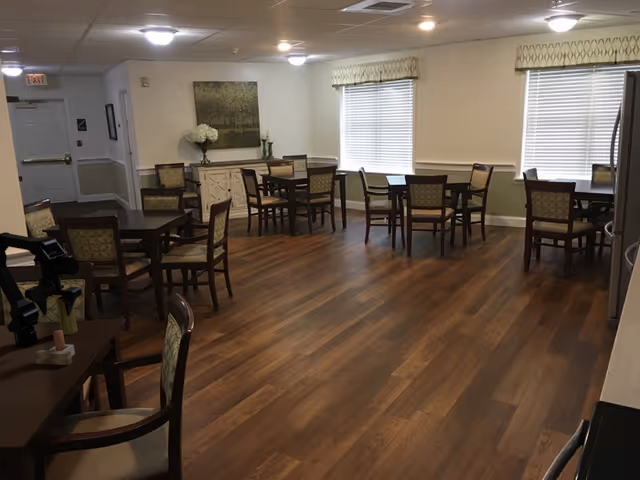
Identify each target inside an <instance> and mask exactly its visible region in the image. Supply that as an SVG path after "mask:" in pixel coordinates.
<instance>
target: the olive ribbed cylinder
mask: <svg viewBox="0 0 640 480" xmlns="http://www.w3.org/2000/svg"><path fill="white" fill-rule="evenodd" d="M55 300H56V304H57V311H58V312H57V313H58V318H59V328H60V329H59V330H63V335H64V336H69V335H74V334H77V332H78V331H79V330H78V325H77V321H76V315H75V310H74V309H75V308H74V307H73V308H72V311H71V314H70V316H67V313H66V308H65V303H64V302H63V301H62V300H63V298H62V295H59V296H58V297H56V299H55Z"/></svg>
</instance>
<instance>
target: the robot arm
mask: <svg viewBox="0 0 640 480" xmlns="http://www.w3.org/2000/svg"><path fill="white" fill-rule="evenodd" d="M9 248H14V249H20V250H26V251H28V252H30V254H31V255H34V256H35V257H34V259H33V260H32V261H33V262H36V263H38V264H39V265H38V267H39V271H40V278H38V284H37V285H33V286H32V287H30V288H27V289H25V290H24V293H22V291H21V289H20V288H19V286H18V283H17V282H16V280H15V278H14V276H13V275H12V273H11V271H10V269H9V267H8V265H7V258H8V257H7V253H6V251H7V250H8V249H9ZM79 269H80V264H79V262H78V260H76V259H75V258H74V256H73V255H72V254H71V255H67V252H66V251H65V249H64V248H63V246H61V245H60V243H59V242H58V241H57V240H56V238H55V237H53V236H41V237H32V236H31V237H30V236H25V235H20V234H14V233H10V232H6V231H5V232H1V233H0V289H1V290H2V292H3V294H4V296H5V298H6V300H7V301H8V304H9V305H10V310H9V316H10V319H11V320H10V322H9V323H8V324H7V325H6V328H7V330H8V332H10V333H13V336H14V337H13V338H14V341H15V343H13V344H12V347H15V348H29V347H31V346H33V345H34V344H35V343H37V342H39V341H40V338H38V337H37V336H38V335H37V331H36V329H35V325H38V322H39V316H40V312H39V310H40V311H41V314H42V315H43V316H47V314H48V301H47V300H48V298H49V297H53V296H62V298H63V300H62V301H63V302H64V303H65V308H66V313H67V316H70V314H71V311H72V308H73V309H74V305H75V302H76V300H77V298H79V297H80V296H81V295H83V290H82V288H81V287H79V286H70V287H68V288H66V289H64V288H65V285H64V284H62V282H61V278H62V277H63V276H75V275H76V274H78V272H79ZM23 294H24V295H23Z"/></svg>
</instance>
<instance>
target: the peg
mask: <svg viewBox="0 0 640 480" xmlns="http://www.w3.org/2000/svg"><path fill="white" fill-rule="evenodd" d="M52 336H53V341H54V347H55V348H56V351H63V350H64V349H65V344H66V343H65V338H64V336H65V335H63V330H61V329H58V330H54V331H53V332H52Z"/></svg>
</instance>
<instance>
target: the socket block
mask: <svg viewBox="0 0 640 480" xmlns="http://www.w3.org/2000/svg"><path fill="white" fill-rule="evenodd" d="M48 351H56V348H55V346H53V347H52V348H50V349H49V350H48ZM63 351H71V357H72V358H73V356H75V355H76V351H75V345H74V344H66V343H65V349H64V350H63Z"/></svg>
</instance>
